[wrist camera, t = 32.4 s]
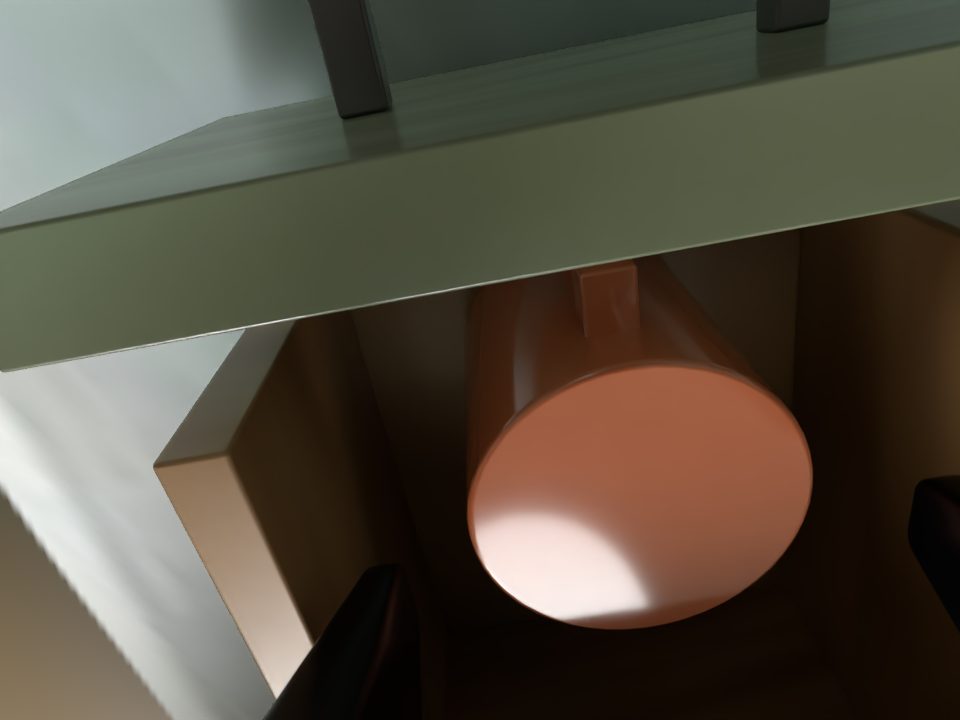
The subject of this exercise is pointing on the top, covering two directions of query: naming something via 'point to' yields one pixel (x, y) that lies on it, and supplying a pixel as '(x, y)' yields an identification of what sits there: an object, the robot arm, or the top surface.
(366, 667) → the robot arm
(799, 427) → the orange cylinder
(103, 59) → the top surface
